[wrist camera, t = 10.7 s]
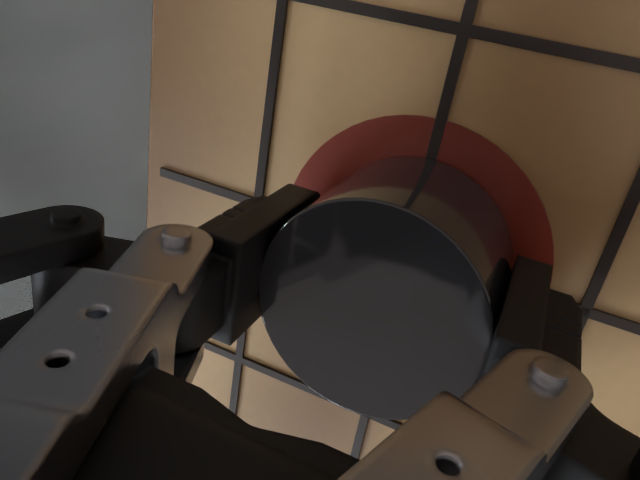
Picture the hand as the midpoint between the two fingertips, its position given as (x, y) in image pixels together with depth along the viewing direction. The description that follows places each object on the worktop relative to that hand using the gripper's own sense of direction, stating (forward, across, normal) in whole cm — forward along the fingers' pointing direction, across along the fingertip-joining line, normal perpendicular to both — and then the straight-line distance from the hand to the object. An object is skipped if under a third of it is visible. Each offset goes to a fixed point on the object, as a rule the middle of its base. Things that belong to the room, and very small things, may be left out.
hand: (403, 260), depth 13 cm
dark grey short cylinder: (+1, 0, 0) cm, 1 cm away
